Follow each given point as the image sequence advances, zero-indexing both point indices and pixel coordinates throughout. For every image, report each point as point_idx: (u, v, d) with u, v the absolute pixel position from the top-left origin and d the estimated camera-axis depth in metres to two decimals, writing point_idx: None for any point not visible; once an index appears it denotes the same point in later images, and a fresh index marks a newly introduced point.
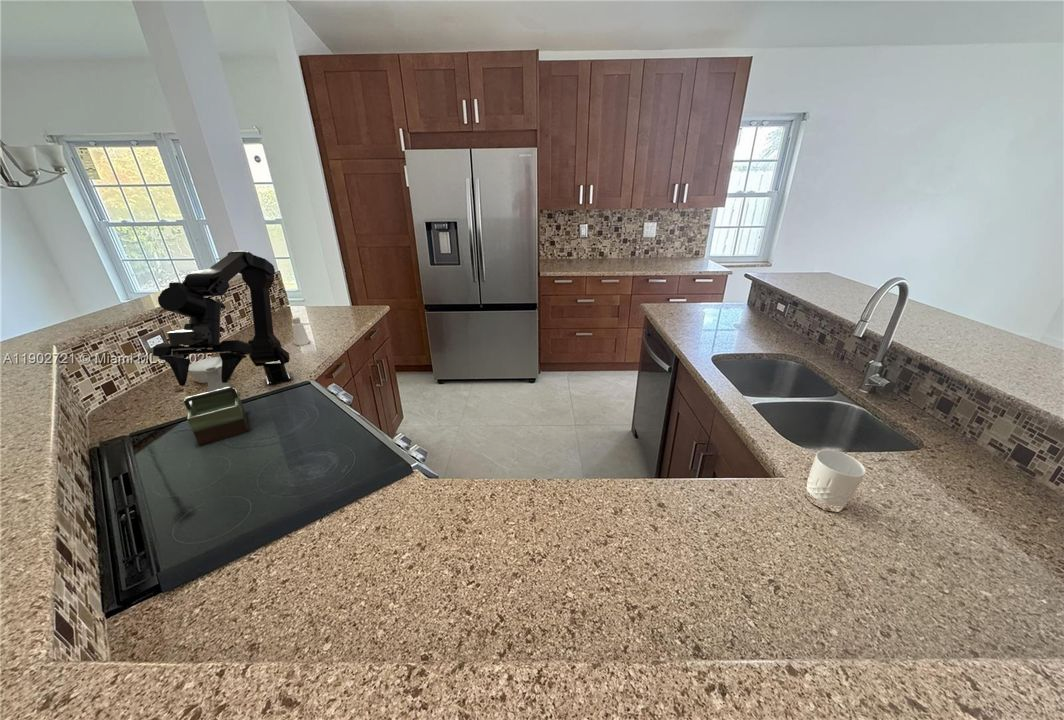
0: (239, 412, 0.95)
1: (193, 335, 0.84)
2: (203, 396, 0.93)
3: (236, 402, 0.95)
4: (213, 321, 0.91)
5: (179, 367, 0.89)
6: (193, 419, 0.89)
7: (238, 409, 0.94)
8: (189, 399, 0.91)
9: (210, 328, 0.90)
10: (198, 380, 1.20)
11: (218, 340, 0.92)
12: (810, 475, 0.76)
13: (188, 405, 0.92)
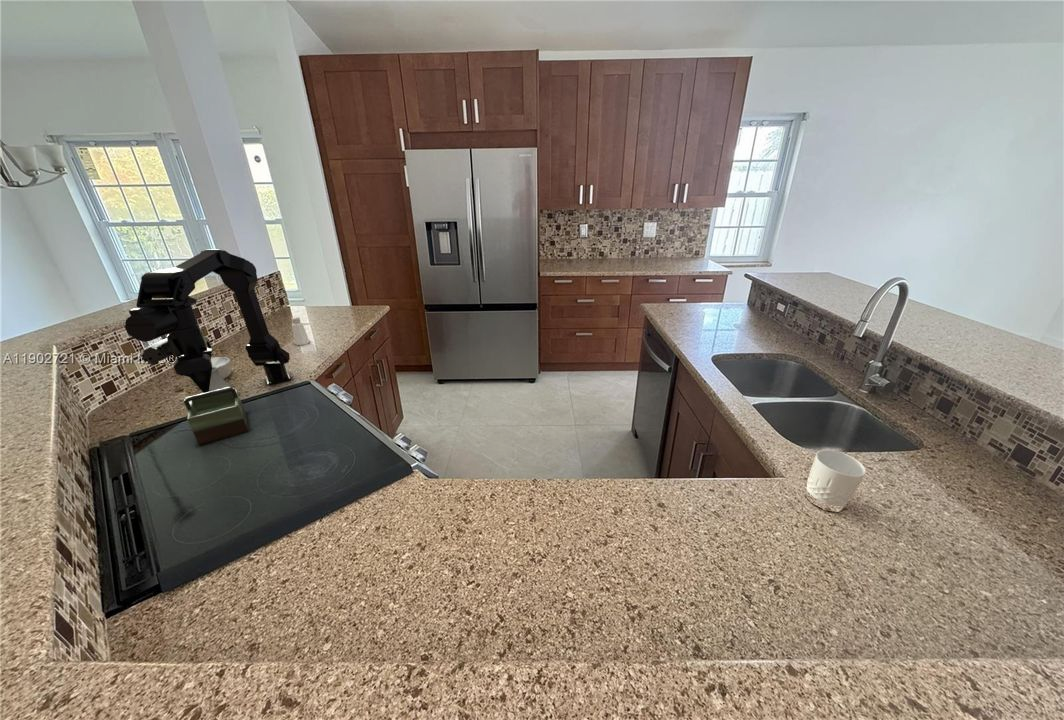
0: (239, 412, 0.95)
1: (143, 359, 0.82)
2: (203, 396, 0.93)
3: (236, 402, 0.95)
4: (176, 331, 0.84)
5: None
6: (193, 419, 0.89)
7: (238, 409, 0.94)
8: (189, 399, 0.91)
9: (176, 339, 0.85)
10: None
11: (192, 348, 0.87)
12: (810, 475, 0.76)
13: (188, 405, 0.92)
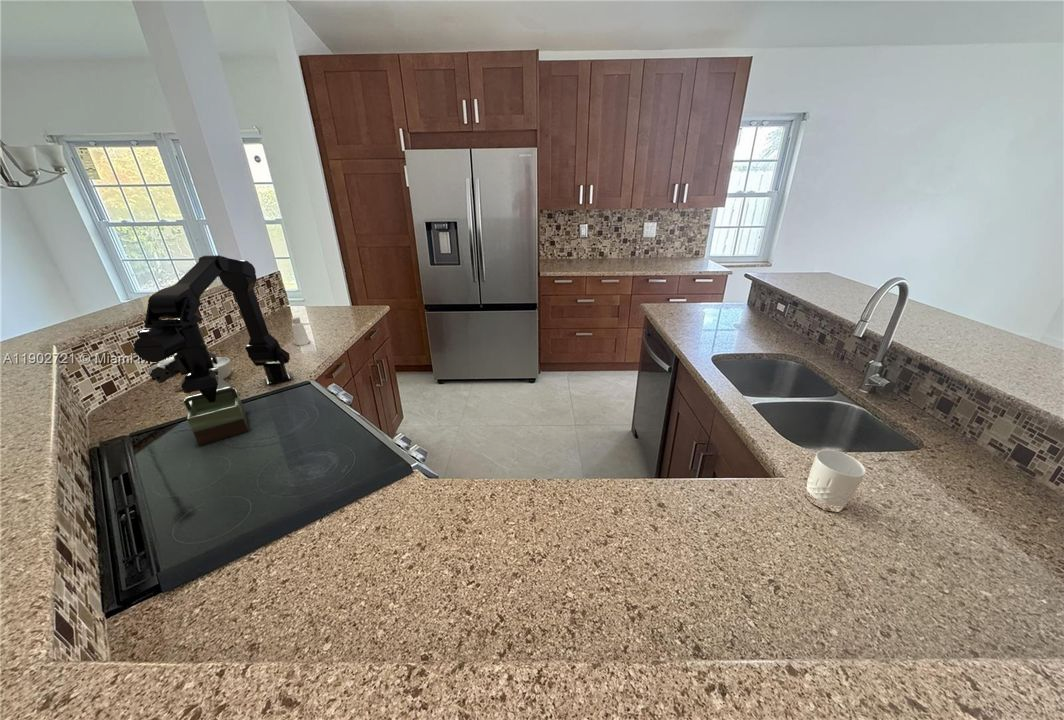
0: (239, 412, 0.95)
1: (151, 378, 0.84)
2: (203, 396, 0.93)
3: (236, 402, 0.95)
4: (183, 350, 0.86)
5: None
6: (193, 419, 0.89)
7: (238, 409, 0.94)
8: (189, 399, 0.91)
9: (183, 357, 0.87)
10: None
11: (199, 365, 0.89)
12: (810, 475, 0.76)
13: (188, 405, 0.92)
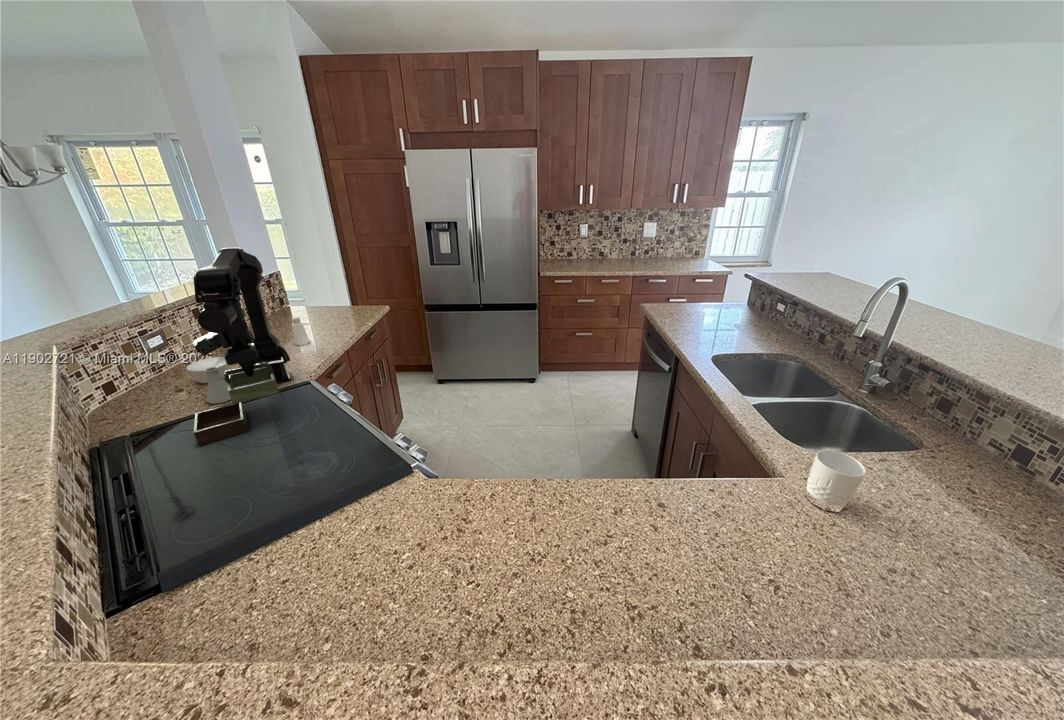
0: (275, 386, 0.99)
1: (196, 350, 0.88)
2: (242, 370, 0.97)
3: (272, 377, 0.99)
4: None
5: None
6: (233, 391, 0.93)
7: (274, 383, 0.98)
8: (229, 372, 0.95)
9: (225, 332, 0.91)
10: (198, 380, 1.20)
11: (240, 340, 0.93)
12: (810, 475, 0.76)
13: (228, 378, 0.96)
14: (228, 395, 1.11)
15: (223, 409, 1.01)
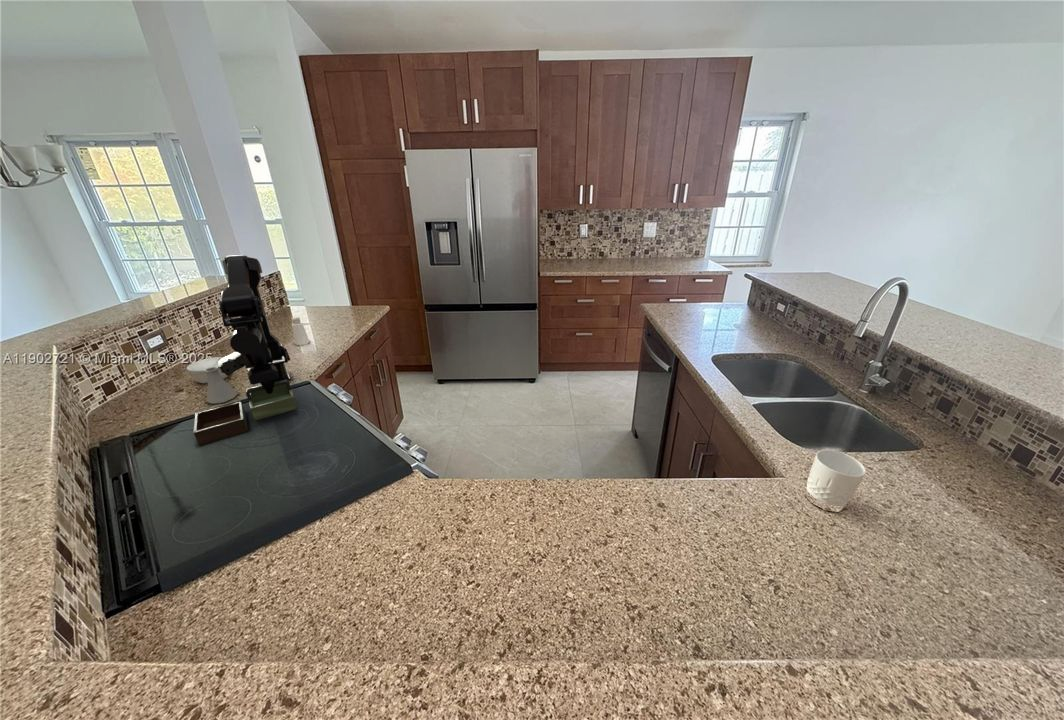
0: (294, 403, 1.03)
1: (221, 371, 0.92)
2: (262, 388, 1.01)
3: (291, 393, 1.04)
4: None
5: None
6: (255, 408, 0.98)
7: (293, 400, 1.03)
8: (250, 390, 1.00)
9: None
10: (198, 380, 1.20)
11: (261, 360, 0.97)
12: (810, 475, 0.76)
13: (249, 396, 1.00)
14: (228, 395, 1.11)
15: (223, 409, 1.01)
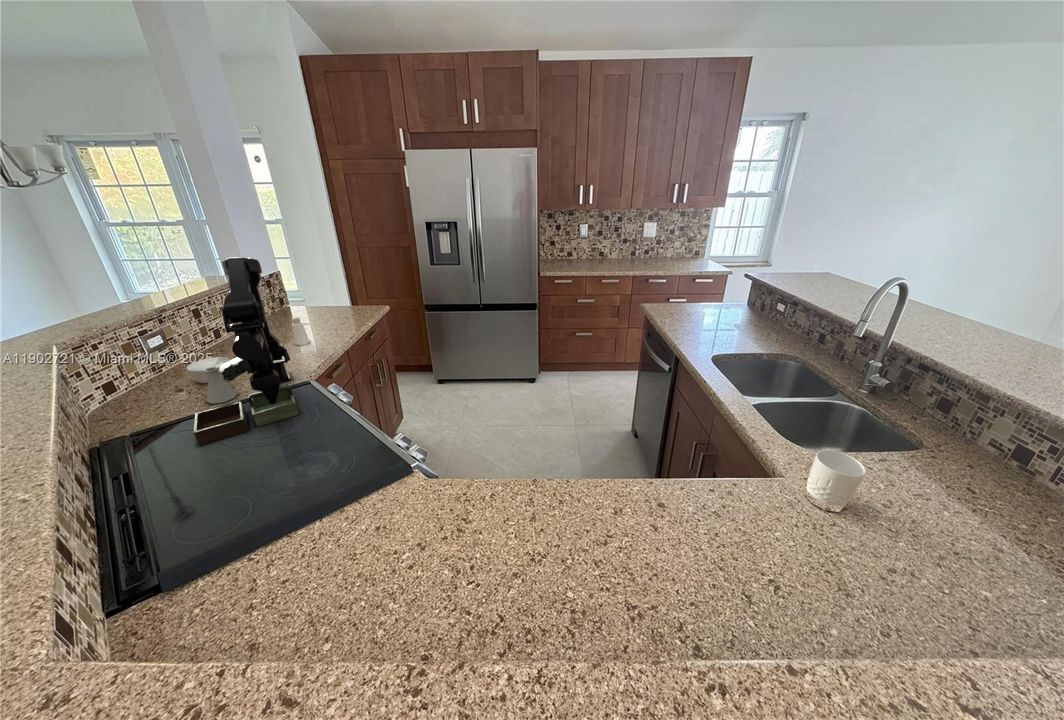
0: (296, 408, 1.04)
1: (223, 376, 0.93)
2: None
3: (293, 399, 1.05)
4: None
5: None
6: (257, 414, 0.98)
7: (295, 405, 1.04)
8: (252, 396, 1.01)
9: None
10: (198, 380, 1.20)
11: (263, 365, 0.98)
12: (810, 475, 0.76)
13: (251, 402, 1.01)
14: (228, 395, 1.11)
15: (223, 409, 1.01)
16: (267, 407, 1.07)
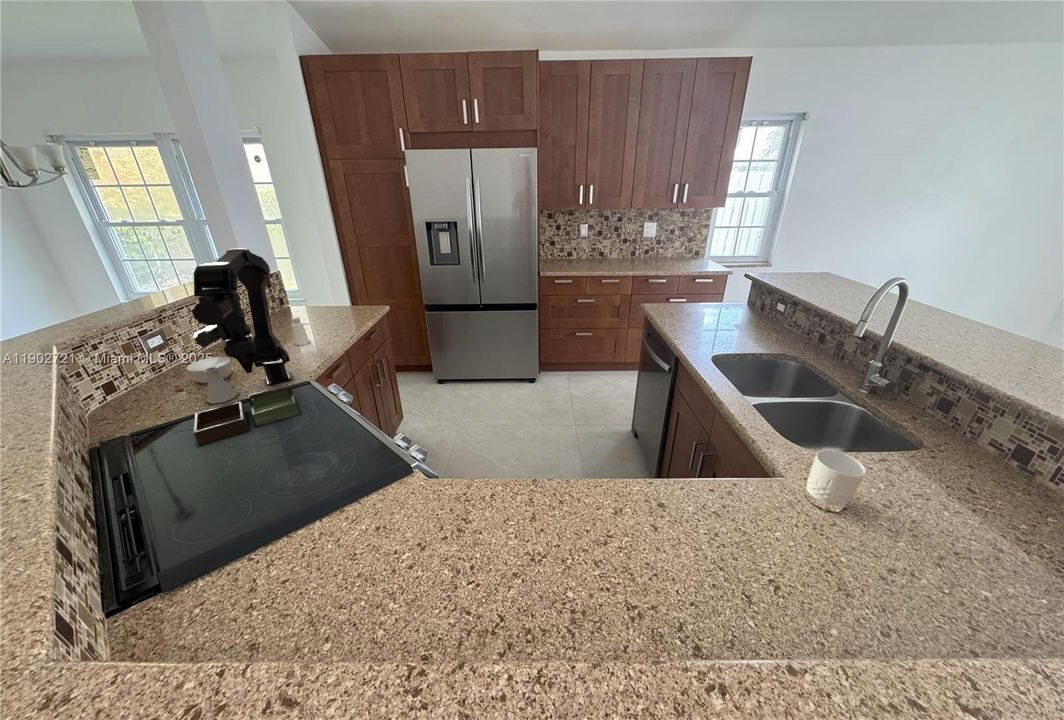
0: (296, 408, 1.04)
1: (196, 341, 0.92)
2: (264, 394, 1.02)
3: (293, 399, 1.05)
4: None
5: None
6: (257, 414, 0.98)
7: (295, 405, 1.04)
8: (252, 396, 1.01)
9: (224, 324, 0.95)
10: (198, 380, 1.20)
11: (238, 332, 0.97)
12: (810, 475, 0.76)
13: (251, 402, 1.01)
14: (228, 395, 1.11)
15: (223, 409, 1.01)
16: (267, 407, 1.07)
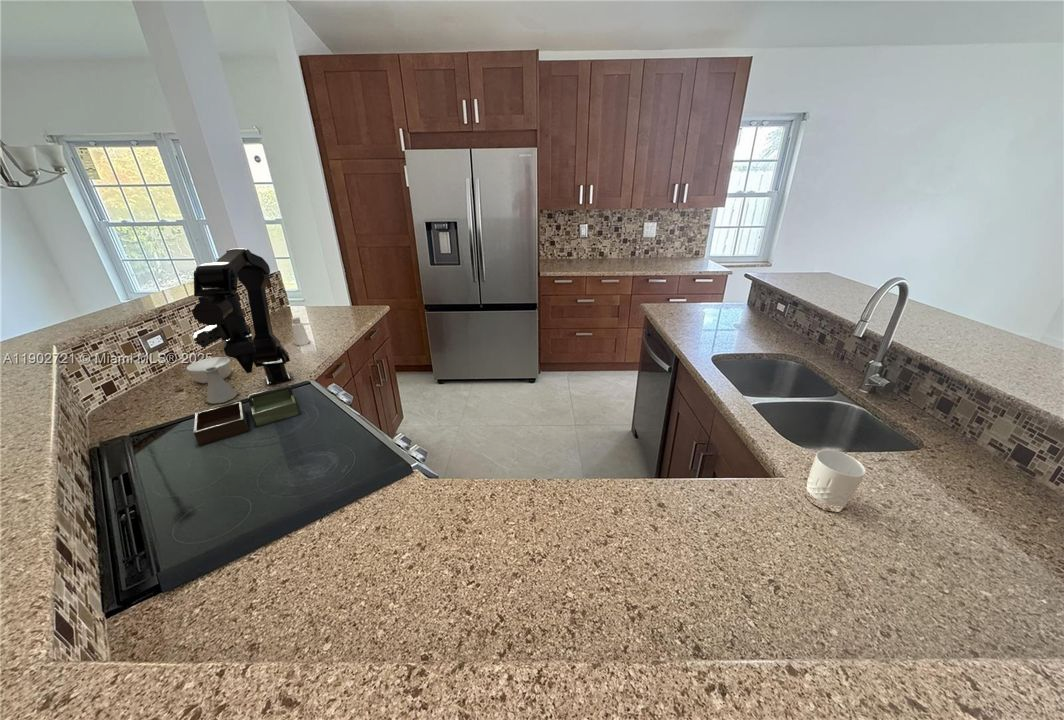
0: (296, 408, 1.04)
1: (196, 342, 0.92)
2: (264, 394, 1.02)
3: (293, 399, 1.05)
4: None
5: None
6: (257, 414, 0.98)
7: (295, 405, 1.04)
8: (252, 396, 1.01)
9: (224, 324, 0.95)
10: (198, 380, 1.20)
11: (238, 332, 0.97)
12: (810, 475, 0.76)
13: (251, 402, 1.01)
14: (228, 395, 1.11)
15: (223, 409, 1.01)
16: (267, 407, 1.07)
